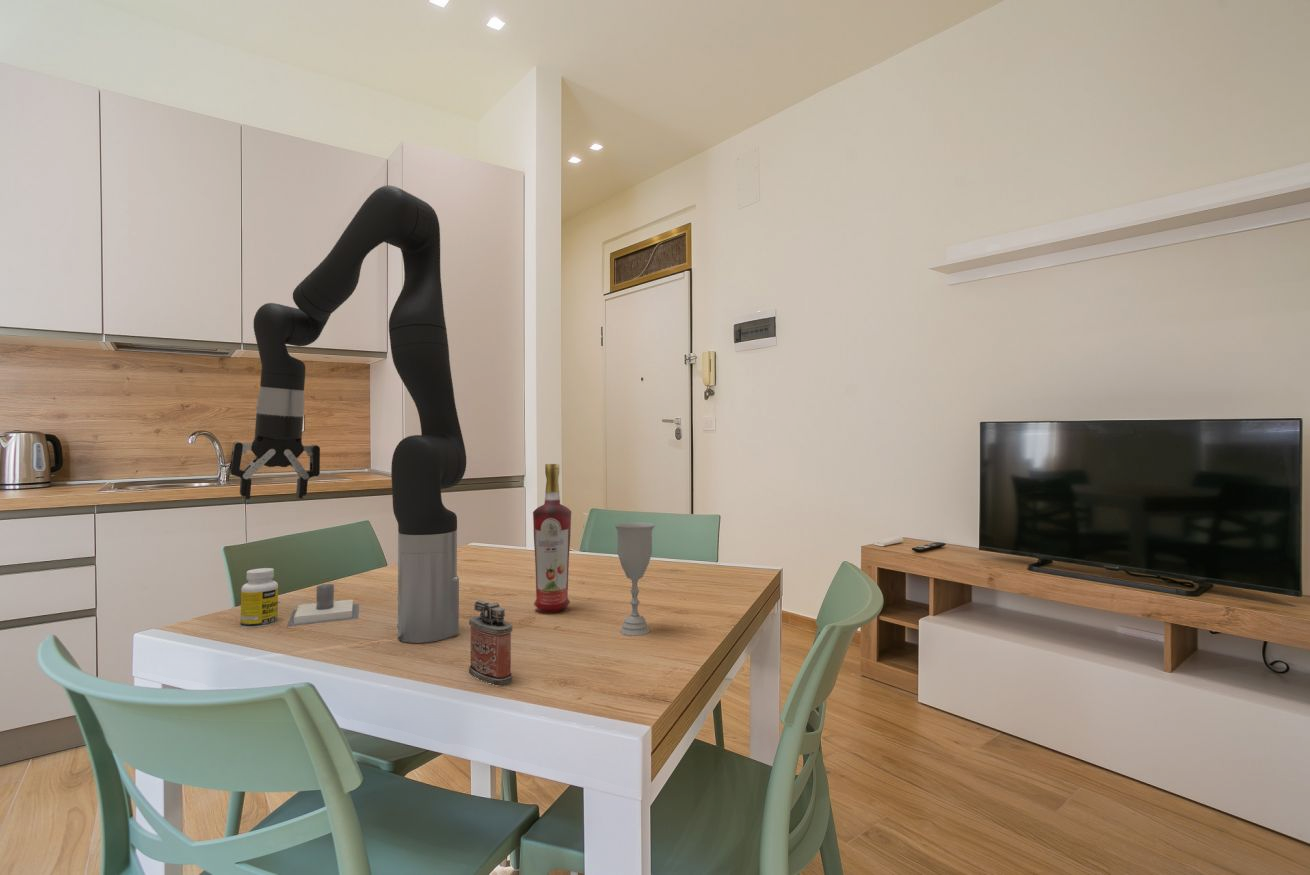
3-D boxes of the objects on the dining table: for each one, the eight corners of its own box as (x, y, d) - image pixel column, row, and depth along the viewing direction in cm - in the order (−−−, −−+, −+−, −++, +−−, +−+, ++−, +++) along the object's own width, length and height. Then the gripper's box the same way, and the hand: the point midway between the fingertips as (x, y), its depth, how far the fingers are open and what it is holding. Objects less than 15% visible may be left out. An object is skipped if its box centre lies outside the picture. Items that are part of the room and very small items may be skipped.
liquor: (572, 604, 119) (572, 463, 119) (569, 614, 112) (570, 464, 112) (535, 605, 118) (535, 463, 119) (530, 615, 111) (530, 464, 112)
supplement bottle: (264, 631, 102) (264, 573, 102) (232, 631, 102) (233, 573, 102) (284, 621, 107) (285, 567, 107) (254, 621, 107) (255, 566, 107)
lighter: (518, 680, 80) (518, 605, 80) (496, 688, 78) (496, 611, 78) (484, 666, 85) (484, 595, 86) (463, 672, 83) (463, 600, 83)
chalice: (646, 639, 97) (646, 528, 98) (607, 635, 99) (607, 526, 100) (660, 626, 104) (660, 523, 104) (624, 622, 106) (624, 521, 107)
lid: (353, 605, 116) (353, 578, 116) (352, 617, 108) (352, 588, 108) (299, 611, 112) (299, 583, 112) (293, 623, 104) (294, 593, 104)
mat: (358, 606, 117) (358, 603, 117) (358, 621, 107) (358, 618, 107) (293, 613, 112) (293, 610, 112) (286, 629, 102) (286, 626, 102)
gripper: (238, 410, 105) (231, 502, 105) (327, 416, 114) (321, 501, 115) (231, 408, 110) (224, 496, 111) (317, 414, 120) (311, 495, 120)
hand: (273, 498), depth 113 cm, fingers open, 8 cm apart
